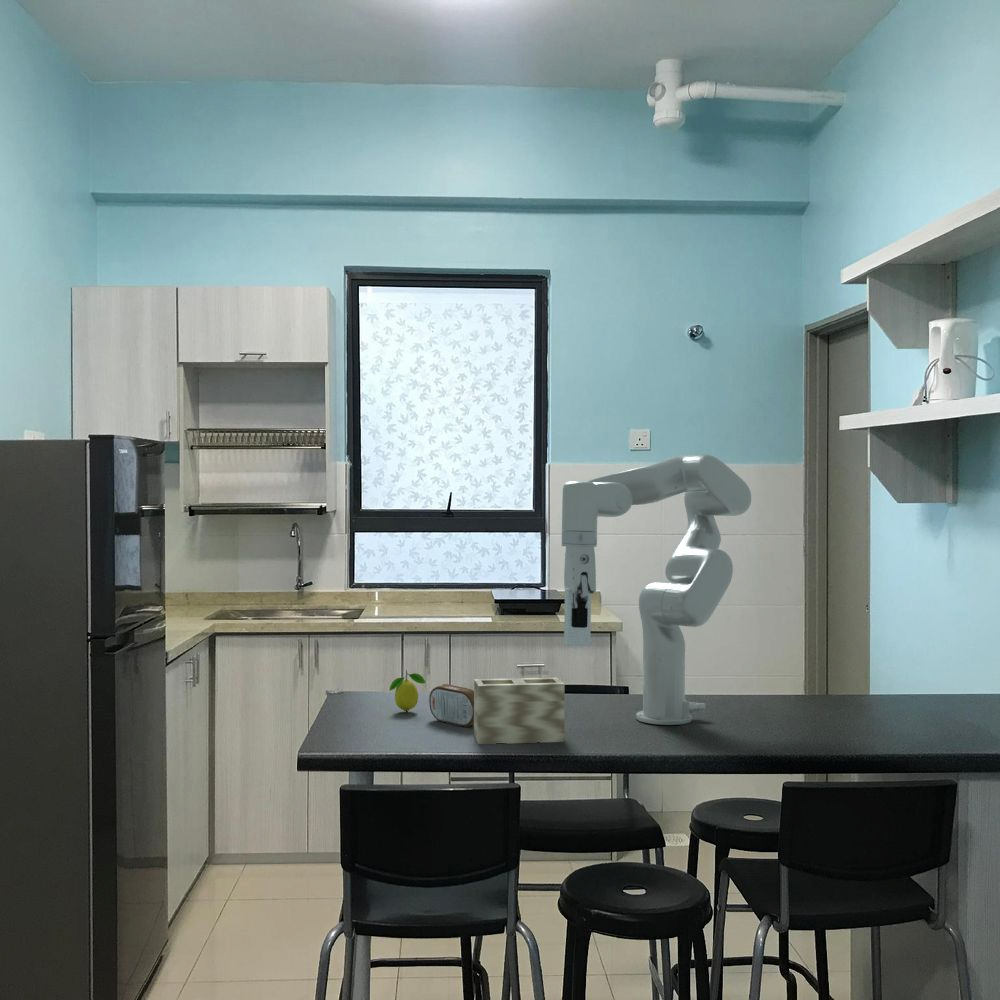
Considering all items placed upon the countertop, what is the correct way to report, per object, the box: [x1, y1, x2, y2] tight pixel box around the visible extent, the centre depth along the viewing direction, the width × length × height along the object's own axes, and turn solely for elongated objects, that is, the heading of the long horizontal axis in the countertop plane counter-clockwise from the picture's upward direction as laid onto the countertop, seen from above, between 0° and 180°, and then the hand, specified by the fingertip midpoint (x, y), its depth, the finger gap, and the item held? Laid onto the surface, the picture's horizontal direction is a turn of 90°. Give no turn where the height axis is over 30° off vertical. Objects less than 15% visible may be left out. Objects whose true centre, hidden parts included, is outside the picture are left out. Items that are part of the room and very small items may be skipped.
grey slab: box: [563, 587, 592, 647], centre depth 213 cm, size 5×3×12 cm, turn 99°
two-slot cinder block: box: [473, 677, 565, 745], centre depth 211 cm, size 18×8×12 cm, turn 98°
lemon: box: [389, 669, 426, 712], centre depth 238 cm, size 7×6×10 cm
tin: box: [428, 683, 474, 728], centre depth 225 cm, size 15×3×8 cm, turn 47°
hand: (577, 625), depth 212 cm, fingers closed on grey slab, 3 cm apart
